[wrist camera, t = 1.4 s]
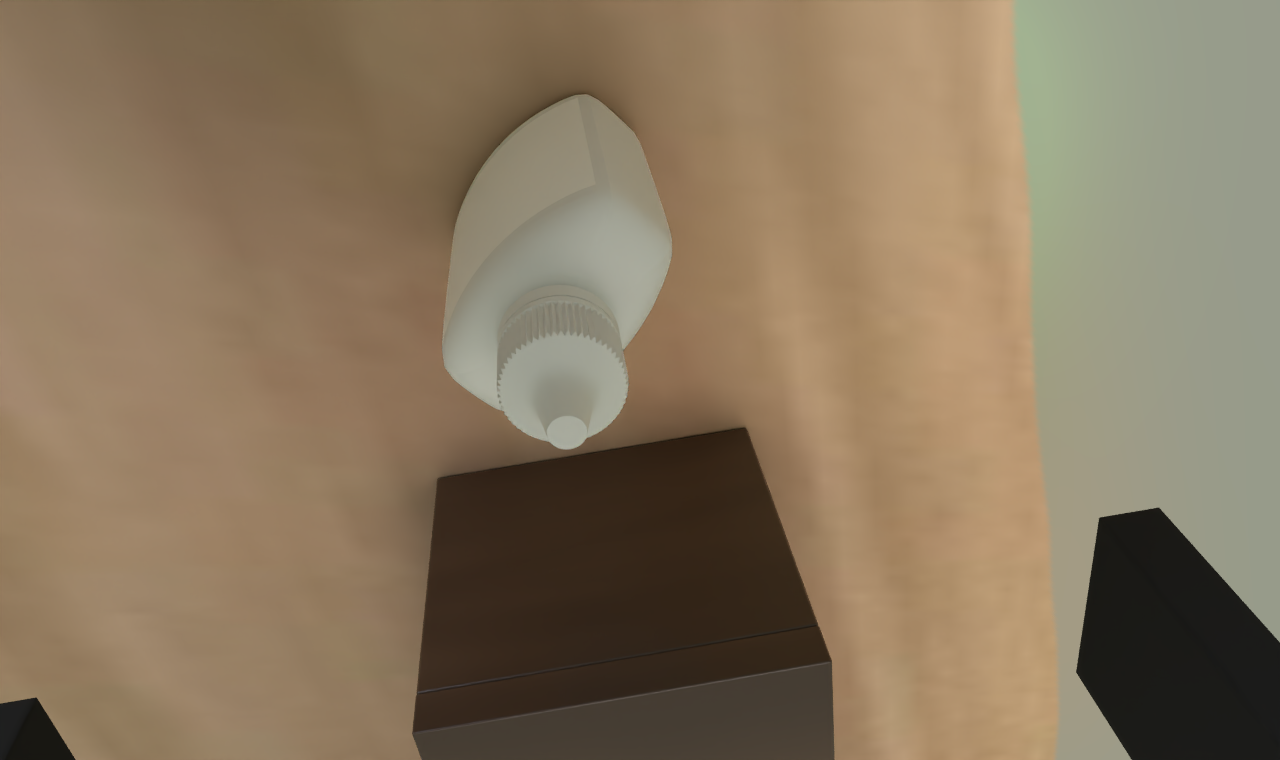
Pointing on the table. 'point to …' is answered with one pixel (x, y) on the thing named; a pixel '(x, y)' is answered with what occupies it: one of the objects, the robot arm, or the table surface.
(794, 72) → the table surface
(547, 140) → the eye dropper bottle
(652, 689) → the dark brown wooden stand
